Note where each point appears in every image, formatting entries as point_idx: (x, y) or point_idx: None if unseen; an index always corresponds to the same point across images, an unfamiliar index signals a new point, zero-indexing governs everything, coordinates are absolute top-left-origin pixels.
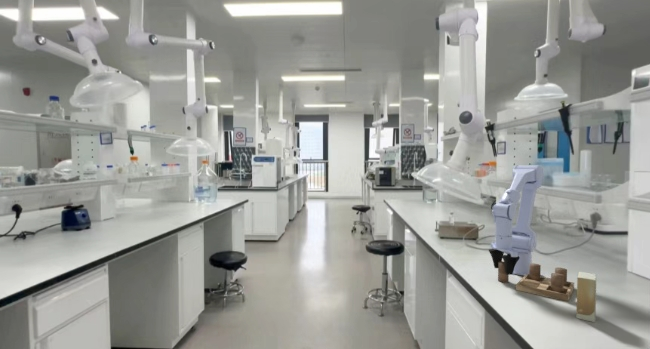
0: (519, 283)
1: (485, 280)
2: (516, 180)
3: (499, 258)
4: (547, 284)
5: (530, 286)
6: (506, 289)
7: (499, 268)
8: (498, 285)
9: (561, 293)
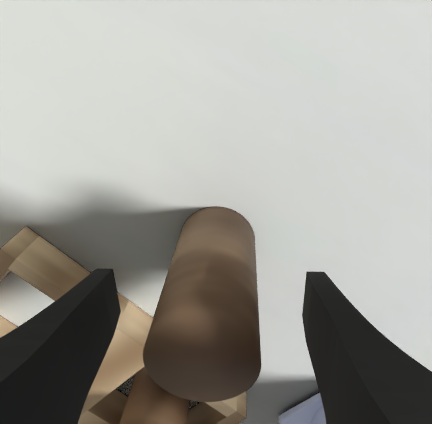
0: (29, 280)
1: (245, 103)
2: None
3: (331, 399)
4: None
5: None
6: (29, 167)
7: (193, 273)
8: (115, 153)
9: None
